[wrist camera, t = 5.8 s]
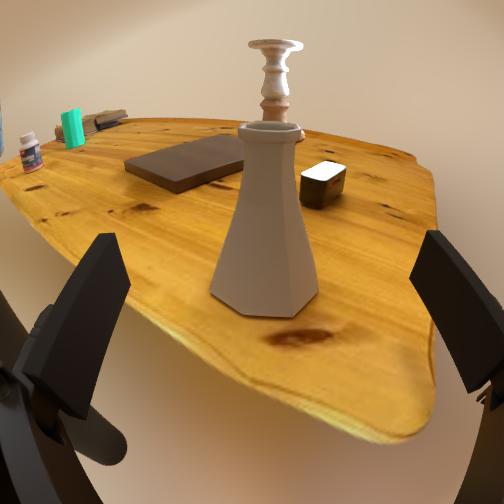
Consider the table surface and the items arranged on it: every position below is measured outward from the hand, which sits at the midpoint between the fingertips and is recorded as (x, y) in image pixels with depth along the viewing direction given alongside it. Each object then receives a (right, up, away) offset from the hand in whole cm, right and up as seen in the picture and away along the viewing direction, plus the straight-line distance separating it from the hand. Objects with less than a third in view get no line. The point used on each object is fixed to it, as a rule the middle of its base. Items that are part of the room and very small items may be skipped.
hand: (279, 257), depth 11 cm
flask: (0, -2, +8) cm, 8 cm away
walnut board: (-8, +14, +29) cm, 34 cm away
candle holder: (+3, +23, +43) cm, 49 cm away
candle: (-50, +30, +51) cm, 77 cm away
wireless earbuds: (+6, +6, +19) cm, 21 cm away
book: (-59, +43, +70) cm, 102 cm away
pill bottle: (-52, +19, +37) cm, 66 cm away
